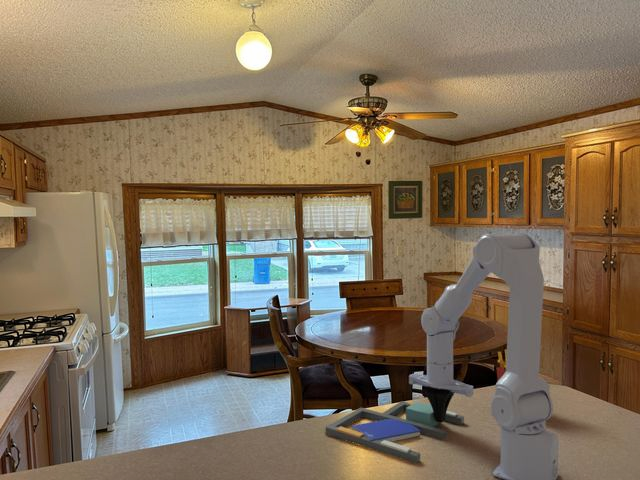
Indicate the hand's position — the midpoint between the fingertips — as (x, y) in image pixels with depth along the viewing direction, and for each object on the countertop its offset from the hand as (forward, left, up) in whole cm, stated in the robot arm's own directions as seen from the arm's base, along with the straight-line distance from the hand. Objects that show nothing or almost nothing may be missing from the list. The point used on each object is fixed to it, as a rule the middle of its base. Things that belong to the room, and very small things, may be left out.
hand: (440, 421), depth 108 cm
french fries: (-10, -22, -2) cm, 24 cm away
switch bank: (+5, 0, -1) cm, 5 cm away
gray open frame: (+8, +11, -1) cm, 14 cm away
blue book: (+8, +11, -2) cm, 13 cm away
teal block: (+4, 0, -1) cm, 4 cm away
